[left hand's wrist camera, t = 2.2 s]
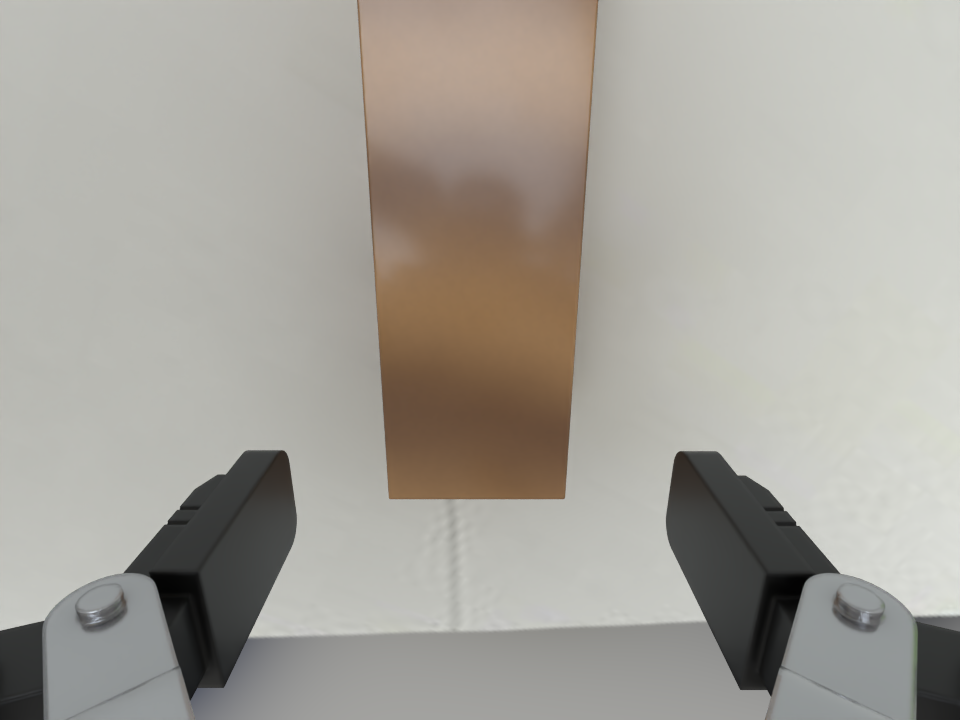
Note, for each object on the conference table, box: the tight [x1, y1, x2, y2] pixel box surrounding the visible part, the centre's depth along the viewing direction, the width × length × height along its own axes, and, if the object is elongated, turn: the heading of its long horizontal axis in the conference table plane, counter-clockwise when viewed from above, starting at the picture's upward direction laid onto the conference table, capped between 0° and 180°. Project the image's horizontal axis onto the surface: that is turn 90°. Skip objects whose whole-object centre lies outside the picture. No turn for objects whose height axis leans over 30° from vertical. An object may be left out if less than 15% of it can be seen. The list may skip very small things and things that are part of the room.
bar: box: [357, 0, 598, 499], centre depth 17 cm, size 28×6×8 cm, turn 0°
